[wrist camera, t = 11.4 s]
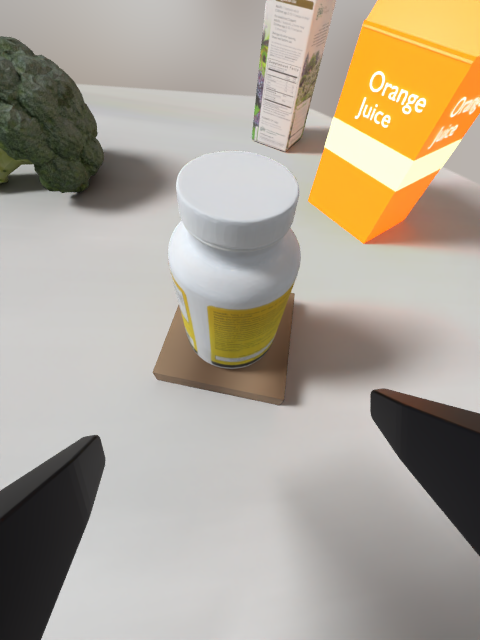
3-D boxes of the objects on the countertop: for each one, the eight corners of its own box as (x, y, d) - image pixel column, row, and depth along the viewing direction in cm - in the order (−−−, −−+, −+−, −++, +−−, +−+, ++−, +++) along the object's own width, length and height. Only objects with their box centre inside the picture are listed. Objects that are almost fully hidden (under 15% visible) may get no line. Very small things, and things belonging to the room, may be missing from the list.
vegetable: (-13, 125, 32) (81, 50, 28) (56, 225, 36) (145, 171, 32) (-160, 78, 21) (-34, -53, 17) (-36, 232, 25) (86, 150, 21)
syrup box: (269, 126, 41) (290, -27, 28) (303, 138, 39) (340, -17, 27) (250, 140, 38) (265, -22, 26) (286, 153, 37) (320, -11, 24)
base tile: (290, 303, 23) (294, 293, 22) (279, 405, 19) (284, 399, 17) (192, 285, 24) (190, 274, 22) (157, 379, 19) (152, 372, 18)
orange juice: (363, 244, 28) (585, -122, 11) (306, 200, 31) (407, -130, 14) (406, 219, 31) (636, -105, 14) (349, 181, 34) (477, -115, 17)
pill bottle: (290, 340, 20) (362, 199, 10) (219, 390, 17) (217, 273, 7) (238, 284, 22) (253, 126, 12) (170, 321, 20) (120, 164, 10)
